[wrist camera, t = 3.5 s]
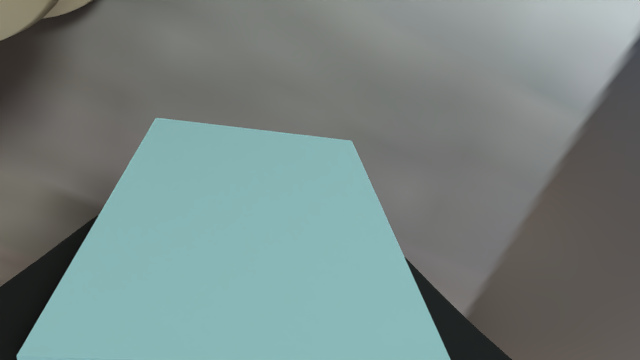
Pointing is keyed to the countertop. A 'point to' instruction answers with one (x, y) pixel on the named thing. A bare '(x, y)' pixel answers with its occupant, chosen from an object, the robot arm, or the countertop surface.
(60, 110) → the countertop surface
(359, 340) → the pale teal block
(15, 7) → the spool
